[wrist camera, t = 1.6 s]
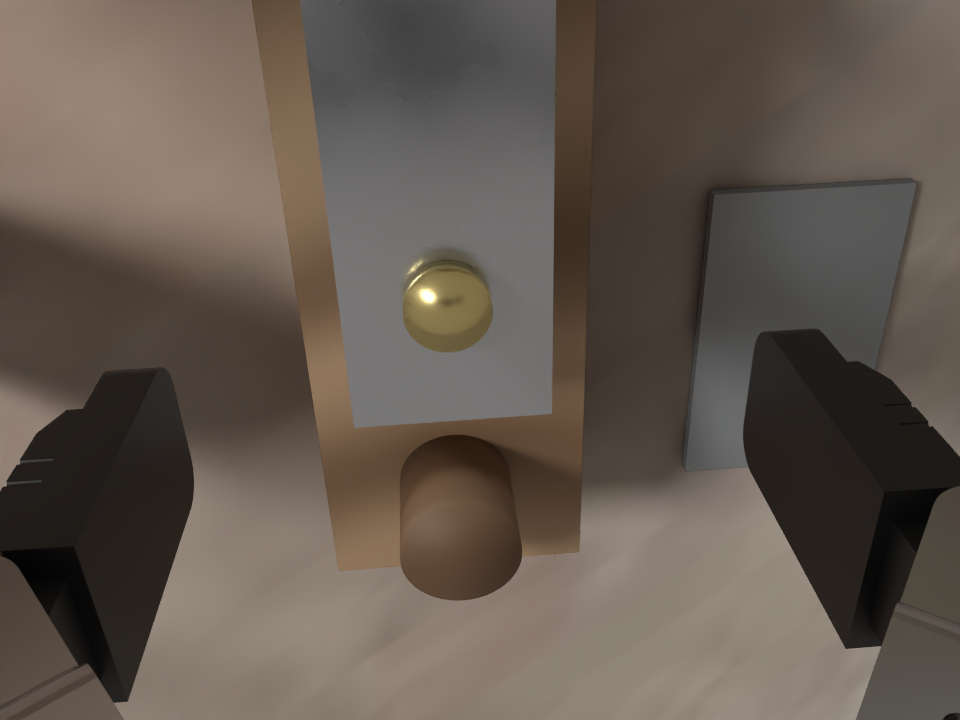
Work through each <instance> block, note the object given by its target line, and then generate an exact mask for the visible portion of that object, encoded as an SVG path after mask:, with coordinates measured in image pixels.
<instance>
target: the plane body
mask: <svg viewBox="0 0 960 720" xmlns="http://www.w3.org/2000/svg"><path fill="white" fill-rule="evenodd" d="M252 5H253V12H254V19H255V25H256V32H257V38H258V45H259V51H260V58H261V64H262V71H263V78H264V84H265V91H266V97H267V104H268V110H269V117H270V123H271V130H272V137H273V143H274V150H275V156H276V163H277V169H278V176H279V182H280V189H281V195H282V202H283V209H284V215H285V222H286V228H287V235H288V241H289V248H290V254H291V261H292V268H293V274H294V281H295V287H296V294H297V300H298V307H299V313H300V320H301V327H302V333H303V340H304V346H305V353H306V359H307V366H308V372H309V379H310V386H311V392H312V399H313V405H314V412H315V418H316V425H317V431H318V438H319V444H320V451H321V458H322V464H323V471H324V477H325V484H326V490H327V497H328V503H329V510H330V517H331V523H332V530H333V536H334V543H335V549H336V556H337V562H338V569H339V571H344V570H357V569H370V568H383V567H396V566H401V567H402V570H403V572H404V574H405V576H406V578H407V579H408V580H409V581H410V582H411V583H412V584H413V585H414V586H415V587H416V588H418V589H419V590H420V591H422V592H424V593H426V594H428V595H431V596H433V597H437V598H440V599H446V600H469V599H475V598H479V597H482V596H485V595H488V594H490V593H492V592H494V591H496V590H498V589H499V588H501V587H502V586H503V585H505V584H506V583H507V582H508V581H509V580H510V579H511V578H512V577H513V576H514V574H515V573H516V571H517V570H518V568H519V565H520V563H521V559H522V557H523V556H536V555H549V554H562V553H574V552H579V546H580V514H581V482H582V450H583V419H584V387H585V355H586V323H587V292H588V260H589V228H590V196H591V164H592V133H593V101H594V69H595V37H596V6H597V0H556V59H555V161H554V263H553V365H552V414H543V415H529V416H515V417H501V418H487V419H472V420H458V421H444V422H430V423H416V424H401V425H387V426H373V427H359V428H354V423H353V415H352V407H351V399H350V391H349V383H348V376H347V368H346V360H345V352H344V344H343V336H342V328H341V320H340V313H339V305H338V297H337V289H336V281H335V273H334V265H333V257H332V250H331V242H330V234H329V226H328V218H327V210H326V202H325V194H324V186H323V179H322V171H321V163H320V155H319V147H318V139H317V131H316V123H315V116H314V108H313V100H312V92H311V84H310V76H309V68H308V60H307V53H306V45H305V37H304V29H303V21H302V13H301V5H300V0H252Z"/></svg>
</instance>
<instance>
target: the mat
mask: <svg viewBox="0 0 960 720" xmlns="http://www.w3.org/2000/svg"><path fill="white" fill-rule="evenodd" d="M916 186H917V182H915V181H914V180H912V179H911V178H907V179H890V180H873V181H856V182H839V183H821V184H804V185H787V186H770V187H753V188H736V189H719V190H710V197H709V206H708V216H707V226H706V236H705V245H704V255H703V265H702V275H701V284H700V294H699V304H698V314H697V323H696V333H695V343H694V353H693V362H692V372H691V382H690V392H689V402H688V411H687V421H686V431H685V441H684V450H683V460H682V466H683V468H684V470H685V472H687V471H700V470H714V469H727V468H741V467H748V464H747V461H746V457H745V452H744V444H743V425H744V417H745V410H746V403H747V396H748V389H749V381H750V374H751V367H752V360H753V353H754V347H755V343H756V340H757V337H758V336H759V334H760V333H761V332H764V331H780V330H796V329H813V328H816V329H819V330H820V331H822V332H823V334H824V335H825V336H826V337H827V338H828V340H829V341H830V342H831V343H832V344H833V345H834V347H835V348H836V349H837V350H838V351H839V353H840V354H841V355H842V356H843V357H844V359H845V360H846V361H847V362H851V361H859V362H861V363H863V364H865V365H866V366H868V367H870V368H871V369H873V370H875V368H876V364H877V359H878V355H879V351H880V346H881V342H882V337H883V333H884V328H885V324H886V319H887V315H888V310H889V306H890V302H891V297H892V293H893V288H894V284H895V279H896V275H897V270H898V266H899V261H900V257H901V252H902V248H903V244H904V239H905V235H906V230H907V226H908V221H909V217H910V212H911V208H912V203H913V199H914V195H915V190H916Z"/></svg>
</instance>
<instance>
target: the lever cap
mask: <svg viewBox="0 0 960 720" xmlns="http://www.w3.org/2000/svg"><path fill="white" fill-rule="evenodd" d="M300 5H301V13H302V21H303V29H304V37H305V45H306V53H307V60H308V68H309V76H310V84H311V92H312V100H313V108H314V116H315V123H316V131H317V139H318V147H319V155H320V163H321V171H322V179H323V186H324V194H325V202H326V210H327V218H328V226H329V234H330V242H331V250H332V257H333V265H334V273H335V281H336V289H337V297H338V305H339V313H340V320H341V328H342V336H343V344H344V352H345V360H346V368H347V376H348V383H349V391H350V399H351V407H352V415H353V423H354V428H359V427H373V426H387V425H401V424H416V423H430V422H444V421H458V420H472V419H487V418H501V417H515V416H529V415H543V414H552V365H553V263H554V161H555V59H556V0H300Z"/></svg>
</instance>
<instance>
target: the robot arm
mask: <svg viewBox="0 0 960 720" xmlns="http://www.w3.org/2000/svg"><path fill="white" fill-rule="evenodd" d="M743 444H744V452H745V457H746V461H747V464H748V467H749V469H750V472H751V474H752V475H753V477H754V479H755V481H756V483H757V485H758V487H759V488H760V490H761V492H762V494H763V496H764V498H765V500H766V501H767V503H768V505H769V507H770V509H771V511H772V513H773V514H774V516H775V518H776V520H777V522H778V524H779V526H780V527H781V529H782V531H783V533H784V535H785V537H786V539H787V540H788V542H789V544H790V546H791V548H792V550H793V552H794V553H795V555H796V557H797V559H798V561H799V563H800V565H801V566H802V568H803V570H804V572H805V574H806V576H807V578H808V579H809V581H810V583H811V585H812V587H813V589H814V591H815V592H816V594H817V596H818V598H819V600H820V602H821V604H822V605H823V607H824V609H825V611H826V613H827V615H828V617H829V618H830V620H831V622H832V624H833V626H834V628H835V630H836V631H837V633H838V635H839V637H840V639H841V641H842V643H843V644H844V646H845V648H846V649H849V648H862V647H875V646H881V649H880V652H879V655H878V658H877V661H876V664H875V666H874V669H873V672H872V675H871V678H870V681H869V684H868V687H867V689H866V692H865V695H864V698H863V701H862V704H861V707H860V710H859V712H858V715H857V718H856V720H960V457H959V456H958V454H957V453H956V452H955V451H954V450H953V449H952V448H951V447H950V445H949V444H948V443H947V442H946V441H945V440H944V439H943V438H942V436H941V435H940V434H939V433H938V432H937V431H936V430H935V429H934V427H933V426H932V427H929V426H928V421H927V420H926V418H925V417H924V416H923V415H922V414H921V413H920V412H919V411H918V409H917V408H916V407H913V408H912V406H911V402H910V400H909V399H908V398H907V397H906V396H905V395H904V394H903V393H902V391H901V390H900V389H899V388H898V387H897V386H896V385H895V384H894V382H893V381H892V380H890V379H889V378H887V377H885V376H884V375H882V374H880V373H878V372H877V371H875V370H873V369H871V368H870V367H868V366H866V365H865V364H863V363H861V362H859V361H851V362H847V361H846V360H845V359H844V357H843V356H842V355H841V354H840V353H839V351H838V350H837V349H836V348H835V347H834V345H833V344H832V343H831V342H830V341H829V340H828V338H827V337H826V336H825V335H824V334H823V332H822V331H820V330H819V329H816V328H813V329H796V330H780V331H764V332H761V333H760V334H759V336H758V337H757V340H756V343H755V347H754V353H753V360H752V367H751V374H750V381H749V389H748V396H747V403H746V410H745V417H744V425H743ZM193 492H194V475H193V466H192V460H191V456H190V452H189V448H188V444H187V439H186V435H185V431H184V427H183V423H182V419H181V415H180V410H179V406H178V402H177V398H176V394H175V390H174V386H173V382H172V379H171V376H170V374H169V372H168V371H167V370H166V369H165V368H146V369H129V370H113V371H106V372H105V373H104V374H103V375H102V376H101V378H100V380H99V382H98V383H97V385H96V387H95V389H94V390H93V392H92V394H91V396H90V397H89V399H88V401H87V402H86V404H85V406H84V408H83V409H74V410H66V411H65V412H64V413H62V414H61V415H60V416H58V417H57V418H56V419H55V420H53V421H52V422H51V423H49V424H48V425H47V426H46V427H44V428H43V429H42V430H41V431H39V432H38V433H37V434H36V435H35V437H34V438H33V440H32V442H31V443H30V445H29V446H28V448H27V450H26V451H25V453H24V454H23V456H22V457H21V459H20V465H16V467H15V469H14V470H13V472H12V473H11V475H10V477H9V478H8V480H7V487H3V488H2V489H1V491H0V720H124V719H123V717H122V715H121V714H120V712H119V711H118V709H117V708H116V706H115V704H114V703H115V702H128V699H129V696H130V693H131V690H132V687H133V683H134V680H135V677H136V674H137V671H138V668H139V665H140V662H141V659H142V656H143V653H144V650H145V647H146V644H147V641H148V638H149V635H150V632H151V629H152V625H153V622H154V619H155V616H156V613H157V610H158V607H159V604H160V601H161V598H162V595H163V592H164V589H165V586H166V583H167V580H168V577H169V574H170V571H171V567H172V564H173V561H174V558H175V555H176V552H177V549H178V546H179V543H180V540H181V537H182V534H183V531H184V528H185V525H186V522H187V519H188V516H189V513H190V509H191V506H192V501H193Z"/></svg>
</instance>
